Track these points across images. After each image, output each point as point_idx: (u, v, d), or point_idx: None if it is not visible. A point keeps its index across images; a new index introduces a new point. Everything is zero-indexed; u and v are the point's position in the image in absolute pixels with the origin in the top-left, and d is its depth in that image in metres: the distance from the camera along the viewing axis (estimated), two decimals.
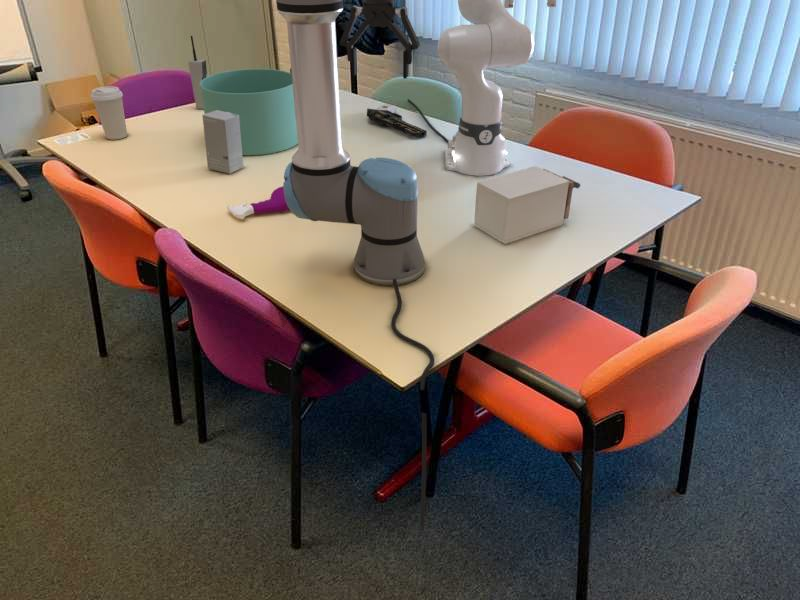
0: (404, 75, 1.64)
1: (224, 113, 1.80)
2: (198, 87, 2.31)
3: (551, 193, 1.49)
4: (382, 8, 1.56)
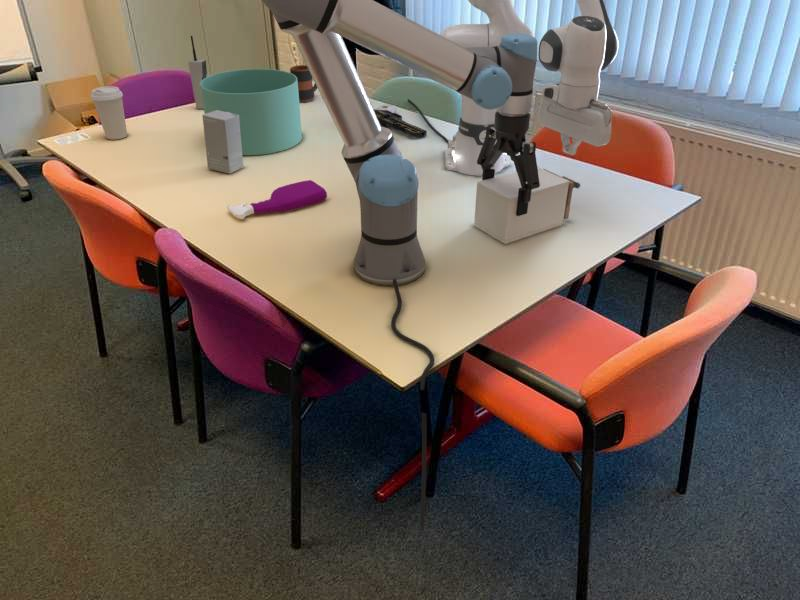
0: (517, 212, 1.45)
1: (224, 113, 1.80)
2: (198, 87, 2.31)
3: (551, 193, 1.49)
4: (510, 136, 1.40)
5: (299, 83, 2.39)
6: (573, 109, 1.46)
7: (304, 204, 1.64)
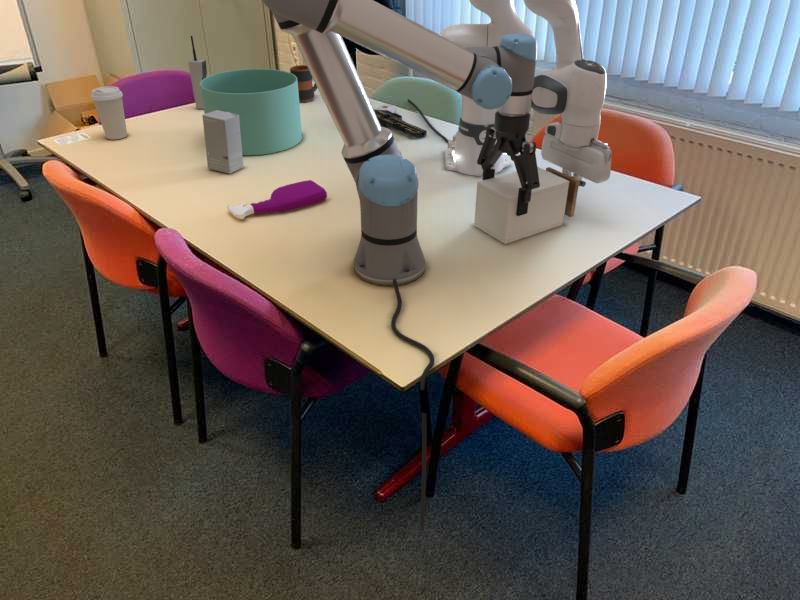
0: (517, 212, 1.45)
1: (224, 113, 1.80)
2: (198, 87, 2.31)
3: (551, 193, 1.49)
4: (510, 136, 1.40)
5: (299, 83, 2.39)
6: (574, 147, 1.52)
7: (304, 204, 1.64)
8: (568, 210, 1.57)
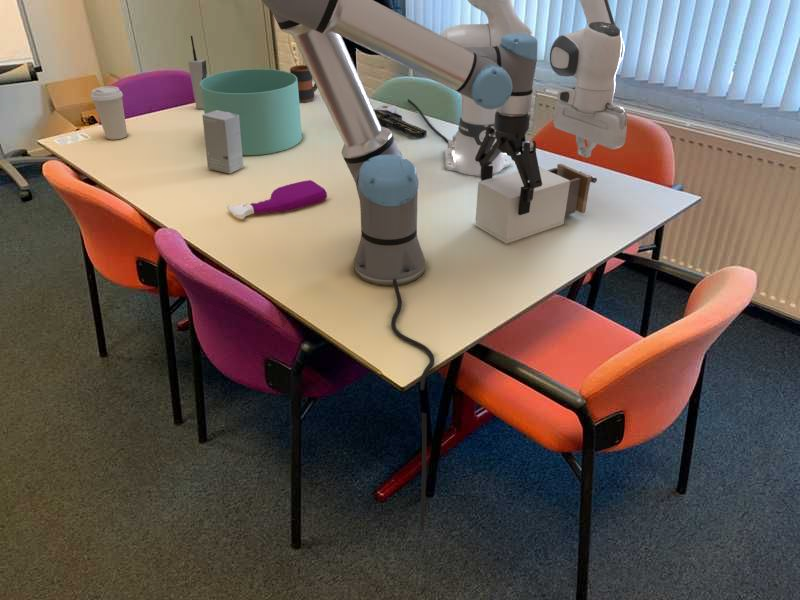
0: (519, 211, 1.44)
1: (224, 113, 1.80)
2: (198, 87, 2.31)
3: (552, 192, 1.49)
4: (510, 136, 1.40)
5: (299, 83, 2.39)
6: (589, 112, 1.49)
7: (304, 204, 1.64)
8: (580, 206, 1.59)
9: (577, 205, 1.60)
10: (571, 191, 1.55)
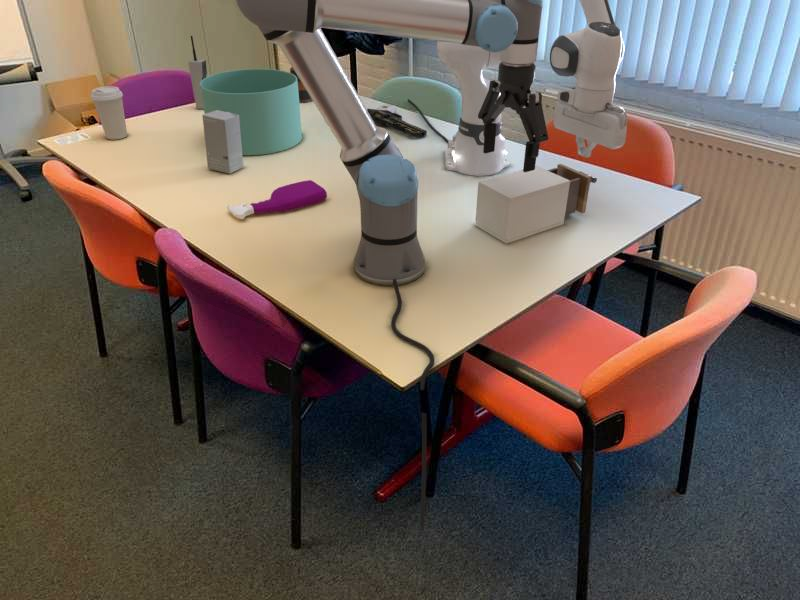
0: (524, 168, 1.38)
1: (224, 113, 1.80)
2: (198, 87, 2.31)
3: (552, 192, 1.49)
4: (515, 88, 1.34)
5: (299, 83, 2.39)
6: (589, 112, 1.49)
7: (304, 204, 1.64)
8: (579, 206, 1.59)
9: (577, 205, 1.60)
10: (571, 191, 1.55)
